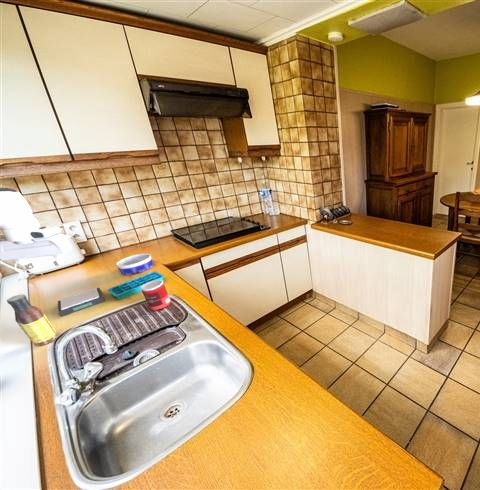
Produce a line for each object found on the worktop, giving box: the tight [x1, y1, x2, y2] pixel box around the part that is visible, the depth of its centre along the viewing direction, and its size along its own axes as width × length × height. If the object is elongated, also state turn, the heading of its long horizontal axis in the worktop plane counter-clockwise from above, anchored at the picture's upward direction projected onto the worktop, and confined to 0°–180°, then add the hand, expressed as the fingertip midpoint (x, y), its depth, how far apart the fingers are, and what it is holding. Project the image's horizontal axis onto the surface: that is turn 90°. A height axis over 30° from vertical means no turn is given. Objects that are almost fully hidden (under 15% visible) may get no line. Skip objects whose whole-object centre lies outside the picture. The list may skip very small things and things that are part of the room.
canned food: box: [141, 280, 172, 312], centre depth 114 cm, size 8×8×11 cm
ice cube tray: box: [107, 270, 165, 300], centre depth 131 cm, size 12×20×3 cm, turn 147°
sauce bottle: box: [6, 293, 59, 347], centre depth 95 cm, size 6×6×20 cm
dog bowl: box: [115, 253, 155, 276], centre depth 150 cm, size 15×15×6 cm
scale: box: [57, 287, 105, 317], centre depth 121 cm, size 14×13×3 cm
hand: (44, 266), depth 101 cm, fingers open, 8 cm apart
